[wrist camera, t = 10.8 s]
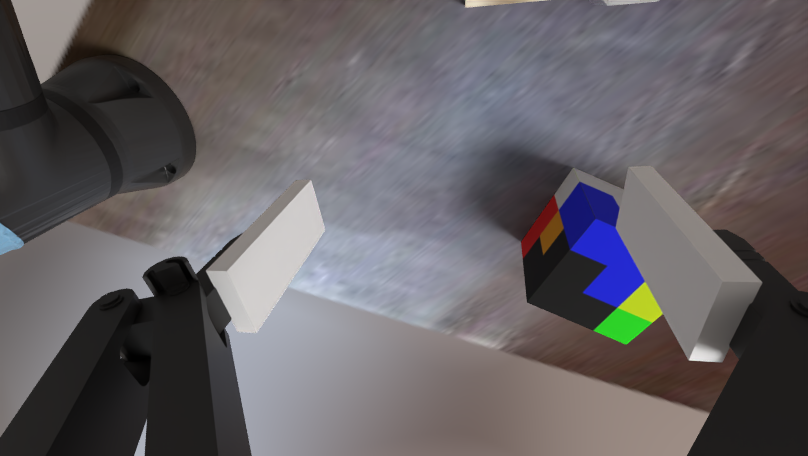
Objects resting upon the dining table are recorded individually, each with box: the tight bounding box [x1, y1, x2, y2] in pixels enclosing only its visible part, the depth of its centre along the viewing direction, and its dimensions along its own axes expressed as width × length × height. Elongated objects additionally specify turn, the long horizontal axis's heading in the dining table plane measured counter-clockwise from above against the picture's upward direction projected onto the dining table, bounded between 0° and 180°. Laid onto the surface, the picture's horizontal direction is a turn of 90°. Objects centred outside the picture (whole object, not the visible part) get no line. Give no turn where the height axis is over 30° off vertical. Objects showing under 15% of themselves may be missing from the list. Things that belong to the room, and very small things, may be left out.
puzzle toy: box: [521, 168, 663, 344], centre depth 35 cm, size 10×10×10 cm
